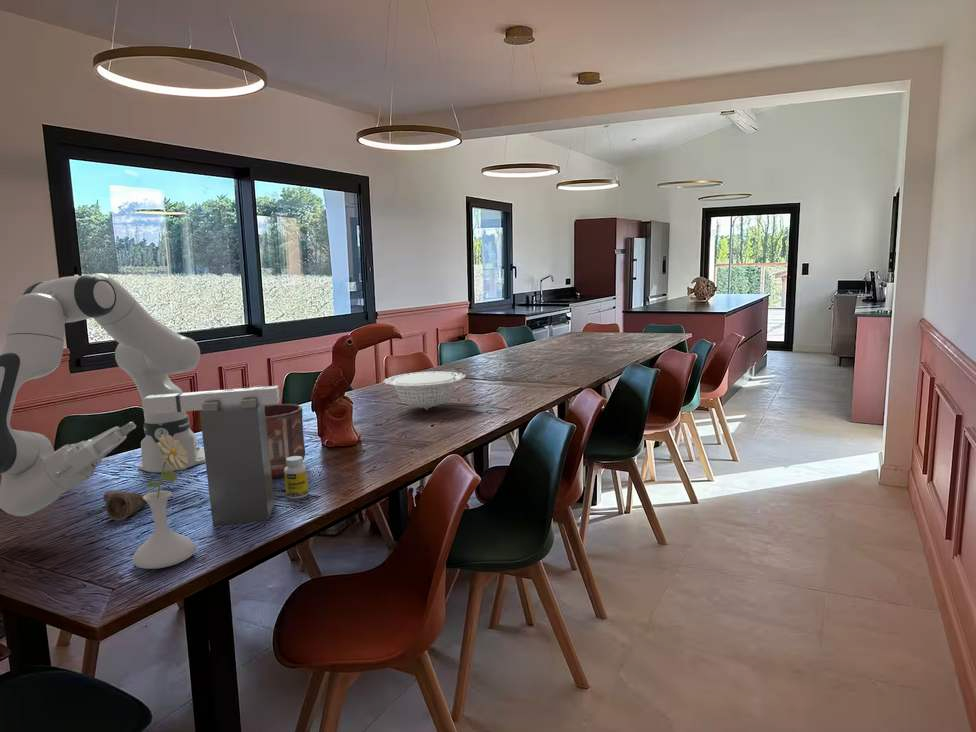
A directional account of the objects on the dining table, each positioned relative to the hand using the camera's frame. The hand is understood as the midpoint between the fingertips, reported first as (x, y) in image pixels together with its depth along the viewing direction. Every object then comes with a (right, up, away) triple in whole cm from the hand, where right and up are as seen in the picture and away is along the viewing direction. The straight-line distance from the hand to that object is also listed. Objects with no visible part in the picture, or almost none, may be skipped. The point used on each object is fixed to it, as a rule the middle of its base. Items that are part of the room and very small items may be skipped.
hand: (126, 429), depth 146 cm
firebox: (+24, -21, +8) cm, 32 cm away
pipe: (-10, -22, +15) cm, 28 cm away
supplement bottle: (+32, -19, +19) cm, 42 cm away
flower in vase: (+17, -25, -15) cm, 33 cm away
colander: (+56, -3, +111) cm, 125 cm away
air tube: (+18, +5, +3) cm, 19 cm away
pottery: (+20, -16, +39) cm, 47 cm away
